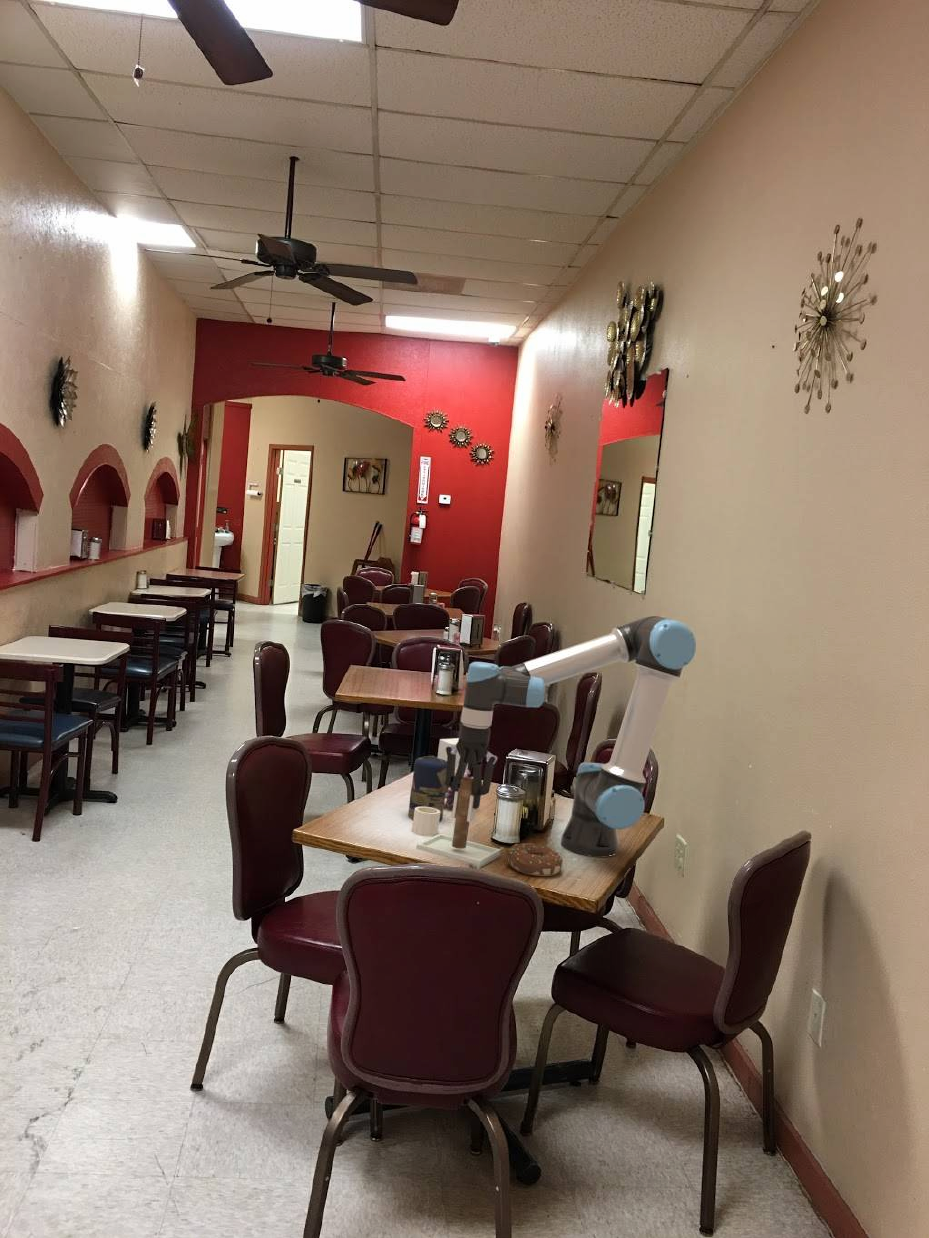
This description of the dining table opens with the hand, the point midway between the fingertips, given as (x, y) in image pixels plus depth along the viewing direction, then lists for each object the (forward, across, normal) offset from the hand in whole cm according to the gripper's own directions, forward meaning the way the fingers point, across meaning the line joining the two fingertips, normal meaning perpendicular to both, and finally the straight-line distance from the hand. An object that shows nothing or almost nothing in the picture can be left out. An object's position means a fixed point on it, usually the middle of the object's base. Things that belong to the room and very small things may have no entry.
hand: (462, 818), depth 250 cm
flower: (+9, +19, -40) cm, 45 cm away
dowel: (+7, 0, 0) cm, 7 cm away
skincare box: (+9, +30, -59) cm, 67 cm away
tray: (+9, 0, 0) cm, 9 cm away
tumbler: (+9, +13, -8) cm, 18 cm away
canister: (+9, +19, -20) cm, 29 cm away
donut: (+9, -18, -4) cm, 21 cm away
